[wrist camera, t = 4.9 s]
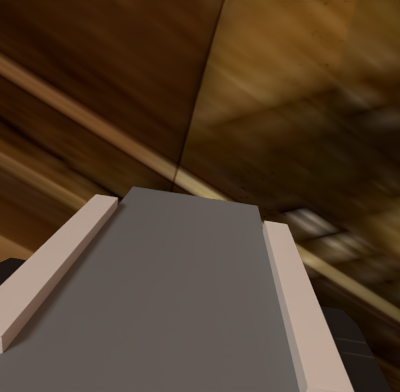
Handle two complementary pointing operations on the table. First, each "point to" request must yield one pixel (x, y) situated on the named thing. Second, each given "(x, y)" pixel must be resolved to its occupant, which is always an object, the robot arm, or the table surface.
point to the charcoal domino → (160, 307)
